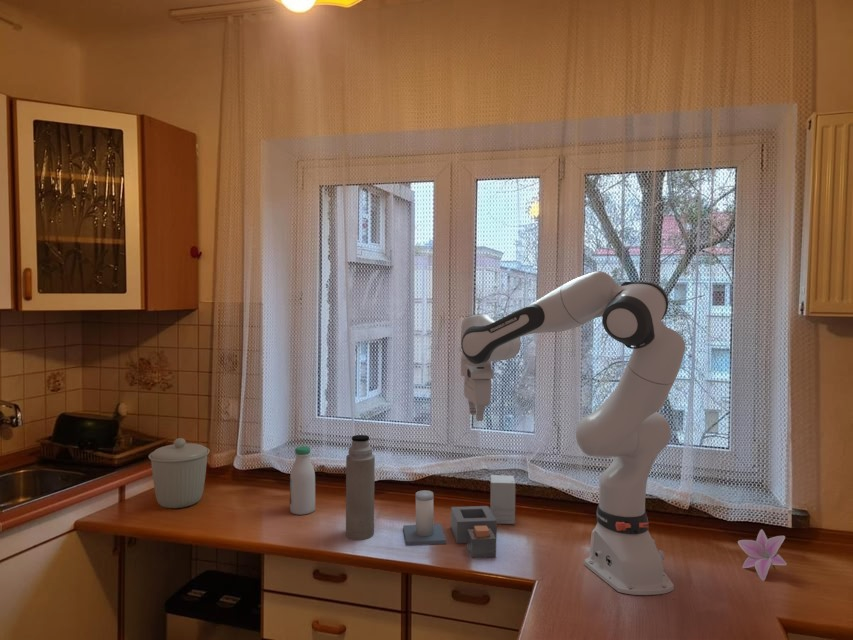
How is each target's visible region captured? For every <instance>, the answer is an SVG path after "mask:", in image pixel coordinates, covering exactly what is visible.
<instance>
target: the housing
mask: <svg viewBox="0 0 853 640" xmlns="http://www.w3.org/2000/svg"><path fill="white" fill-rule="evenodd" d="M474 526H487V527H488V529H491V530H492V532H493V533H494V535H495V537H496V538H497V535H498V534H497V526H498V525H497V520H496V518H495V517H494V515H493V513H492V512H491V510H490V506H488V505H480V506H479V505H478V506H477V505H475V506H474V505H472V506H451V507H450V529H451V531H452V534H453V536H454V538H455V542H456V544H467V529H474Z"/></svg>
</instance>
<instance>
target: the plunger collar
mask: <svg viewBox="0 0 853 640" xmlns="http://www.w3.org/2000/svg"><path fill="white" fill-rule="evenodd" d="M466 545H467V546H466V548H467V550H468V553H469V556H470V558H471V559H488V558H489V559H490V558H491V559H493V558H497V536H496V537H495V535H494V533H493V532H492V530H491V529H489V537H475V535H474V529H467V543H466Z"/></svg>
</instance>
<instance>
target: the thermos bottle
mask: <svg viewBox="0 0 853 640" xmlns="http://www.w3.org/2000/svg"><path fill="white" fill-rule="evenodd" d="M351 440H352V441H351V446H350V447H348V454H347V455H346V457H345V459H346V461H345V462H346V464H345V465H346V466H345V469H346V470H345V486H346V487H345V536H346V537H347V538H349V539H350V540H356V541H357V540H359V541H361V540H362V541H363V540H368V539H370V538H372V537H373V536H374V535H375V469H376V468H375V467H376V466H375V464H376V463H375V460H376V459H375V457H376V456H375V454H373V452H374V451H373V447H372V446H371V445H370V436H369V435H366V434H356V435H353V436H351Z"/></svg>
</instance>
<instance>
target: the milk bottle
mask: <svg viewBox="0 0 853 640" xmlns="http://www.w3.org/2000/svg"><path fill="white" fill-rule="evenodd" d="M294 451H295V455H294V456H295V460H294V462H293V465H292V468H291V470H290V475H289V478H290V479H289V481H290V482H289V510H290V512H291V514H292V515H297V516H299V515H301V516H302V515H303V516H304V515H308V514H309V515H310V514H311V513H313V512H315V509H316V473H315V468H314V466H313V464H312V461H311V457H310V455H311V447H310V446H307V445H306V446H304V445H303V446H302V445H301V446H297V447H295V449H294Z"/></svg>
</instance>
